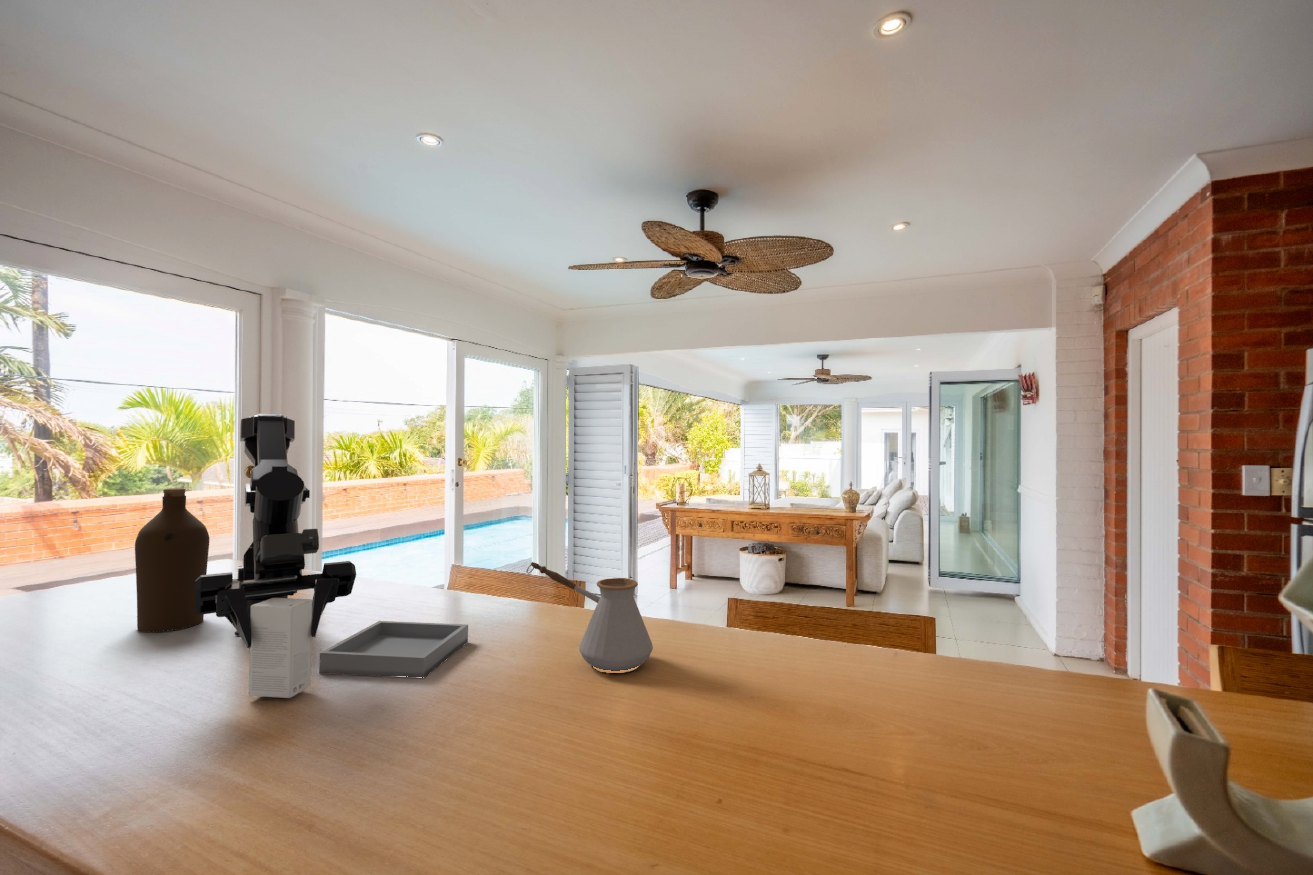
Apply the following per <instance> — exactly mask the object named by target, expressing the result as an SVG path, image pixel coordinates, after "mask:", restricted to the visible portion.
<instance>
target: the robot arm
mask: <svg viewBox="0 0 1313 875" xmlns="http://www.w3.org/2000/svg"><path fill="white" fill-rule="evenodd" d="M295 423H296V421H295V420H293V419H290V418H288V416H287V415H284V414H280V413H257V414H253V416H248V417H245V418H241V419H240V428H239V430H240V432H239V441H240V442H244V453H245V456H246V457H247V458H248V460H250V462H251V463H252V465H253V468H252V469H251V470H250V483H244V506H245V507H249V511H250V513H252V514H253V519H252V542H251V544H250V545H249V547H248V548H247V550H246V551H245V552H244V554H243V558H242V565H240V566H238V567H237V578H234V577H233V576H234V574H233V571H229V572H221V573H209V574H206V575H201V576H200V577H199V578H197V579H196V580H195V613H196V614H199V615H203V614H204V615H209V614H215V616H216V617H217V618H223V617H224V618H226V619H227V621H229V623H230V624H231V625H232V626H233V627H234V628H235V631H234V635H236V636H240V638H241V640H242V641H243V643H244V645H245V647H246V648H247V649H250V648H251V628H250V607H251V605H253V604H256V603H259V602H262V601H265V600H268V599H271V598H289V597H292V596H294V594H298V591H305V590H313V596H312V638H311V639H313V638H316V635H317V632H318V629H319V624H320V621H321V617H322V614H323V613H324V611H325V609H326V606H327V604H329V603H330V604H331V603H334V602H335V601H336V599H337V598H340V597H341V598H342V597H347V596H349V595H351V594H352V592H353V588H354V584H355V581H356V578H357V569H356V565H355V564H354V563H353V562H352V561H350V560H345V561H344V560H343V561H335V562H326V563H325V562H324V563H323V568H322V571H321V573H312V574H304V575H303V570H305V567H306V566H305V565H306V561H305V555H308V554H310V555H311V554H316V553H317V552H319V548H320V539H319V538H320V537H319V531H318V528H305V529H303V530H302V532H300V531H299V524H298V523H299V521H298V519H299V517H300V515H301V512H302V511H301V509H302V505H303V504H304V503H305V502H306V499H310V496H311V492H310V489H308V488H307V487H306V485H305V482H304V481H303V479H302V477H300V475H298V469H296V468H295V467H293V466H292V465H290V464H289V462H288V453H289V449H290V446H291V445H290V444H291V443H294V441H295V439H296V436H295V435H296V434H295V433H296V429H295V428H296V427H295V426H296V425H295Z"/></svg>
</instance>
